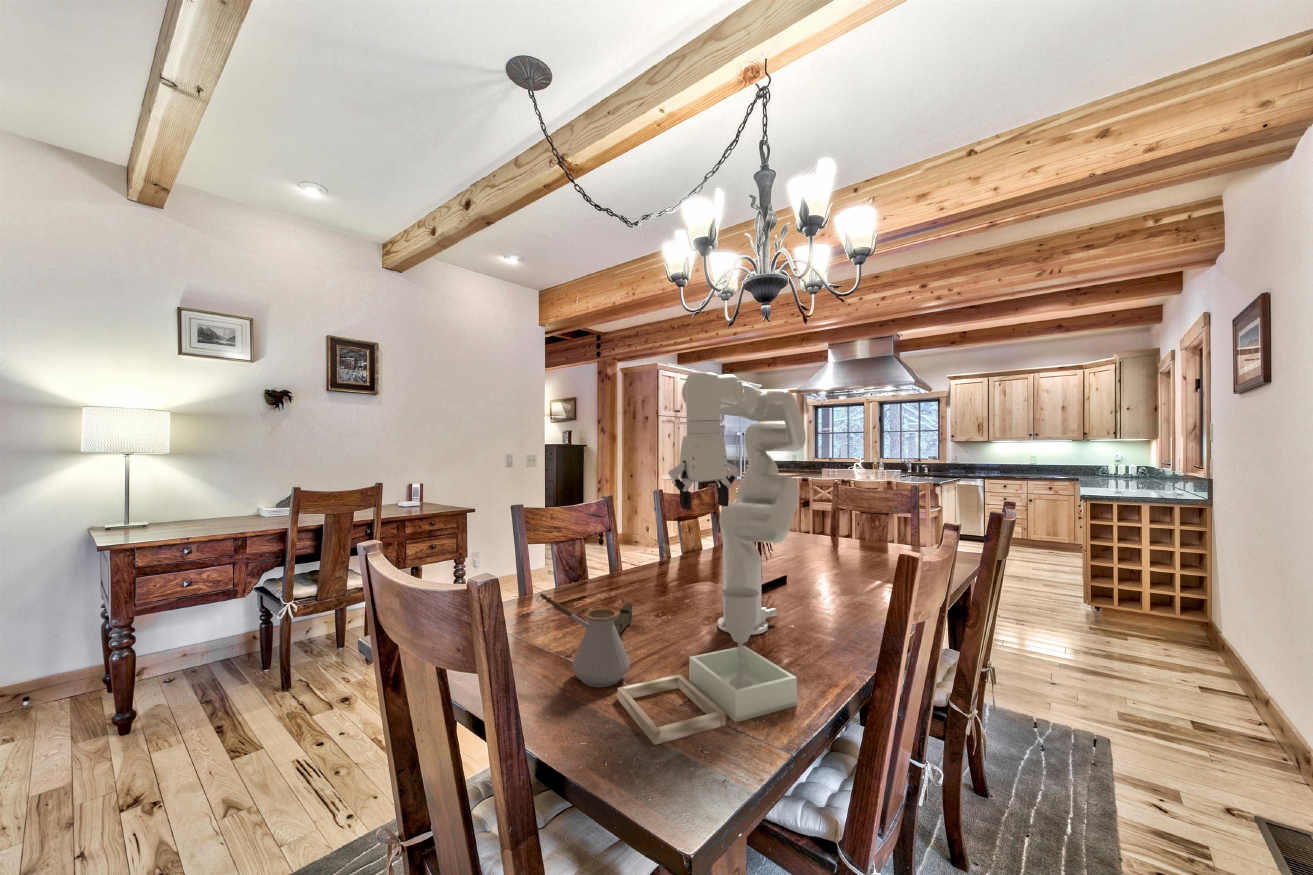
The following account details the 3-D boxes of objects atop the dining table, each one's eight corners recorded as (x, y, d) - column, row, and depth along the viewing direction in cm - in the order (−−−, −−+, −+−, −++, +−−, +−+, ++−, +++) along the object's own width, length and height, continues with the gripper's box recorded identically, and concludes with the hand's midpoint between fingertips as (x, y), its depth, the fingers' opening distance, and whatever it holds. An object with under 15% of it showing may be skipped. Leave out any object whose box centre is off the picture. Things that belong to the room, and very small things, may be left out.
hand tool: (615, 646, 119) (615, 626, 119) (599, 644, 120) (599, 624, 120) (640, 620, 137) (641, 602, 137) (626, 618, 138) (626, 601, 138)
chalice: (750, 701, 91) (750, 599, 92) (715, 692, 95) (715, 594, 95) (765, 685, 98) (764, 590, 98) (731, 676, 101) (731, 584, 102)
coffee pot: (640, 672, 105) (640, 598, 105) (611, 697, 95) (611, 615, 95) (555, 653, 115) (555, 586, 115) (520, 674, 104) (520, 600, 104)
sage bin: (744, 669, 106) (744, 645, 106) (796, 705, 92) (796, 677, 92) (689, 682, 101) (689, 656, 101) (735, 722, 86) (735, 692, 86)
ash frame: (680, 684, 100) (680, 674, 100) (725, 725, 85) (725, 713, 85) (617, 698, 94) (617, 687, 94) (654, 744, 80) (654, 731, 80)
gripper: (726, 429, 120) (727, 502, 121) (660, 430, 112) (662, 508, 113) (746, 429, 114) (747, 506, 114) (677, 429, 106) (679, 513, 106)
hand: (704, 507), depth 113 cm, fingers open, 9 cm apart
